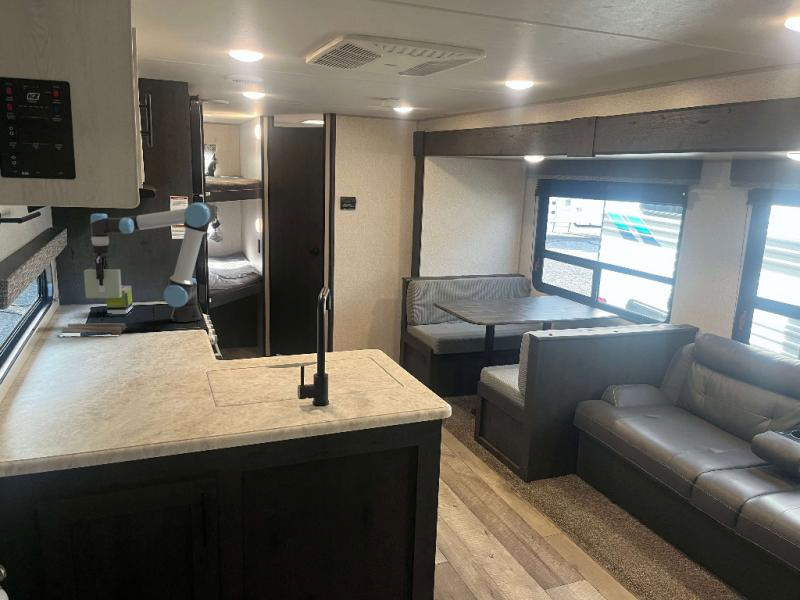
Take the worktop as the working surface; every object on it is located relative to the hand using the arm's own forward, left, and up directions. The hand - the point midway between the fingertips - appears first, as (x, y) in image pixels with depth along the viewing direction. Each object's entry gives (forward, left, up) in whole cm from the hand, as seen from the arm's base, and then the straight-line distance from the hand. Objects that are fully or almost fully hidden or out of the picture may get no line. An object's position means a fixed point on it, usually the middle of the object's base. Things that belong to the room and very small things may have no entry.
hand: (103, 291), depth 308 cm
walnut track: (+17, 0, -18) cm, 24 cm away
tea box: (-28, 0, -18) cm, 33 cm away
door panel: (0, 0, -3) cm, 3 cm away
